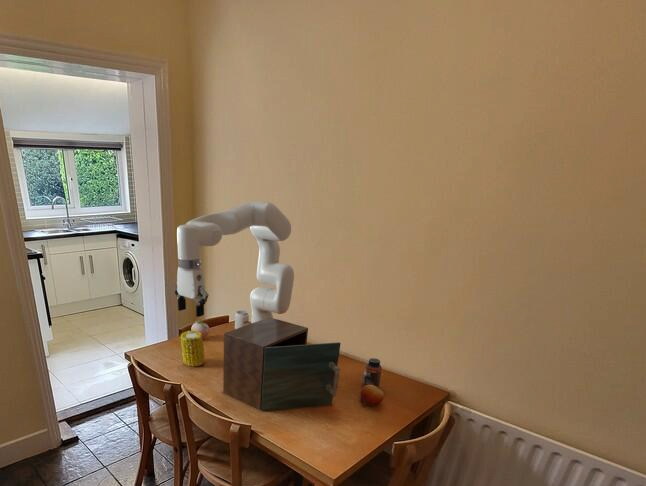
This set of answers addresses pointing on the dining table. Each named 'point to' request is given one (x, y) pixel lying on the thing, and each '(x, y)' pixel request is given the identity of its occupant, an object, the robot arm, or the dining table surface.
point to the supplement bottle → (372, 372)
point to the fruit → (371, 395)
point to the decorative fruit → (201, 328)
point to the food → (192, 348)
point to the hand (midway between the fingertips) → (190, 312)
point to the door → (300, 376)
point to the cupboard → (254, 356)
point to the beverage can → (241, 319)
